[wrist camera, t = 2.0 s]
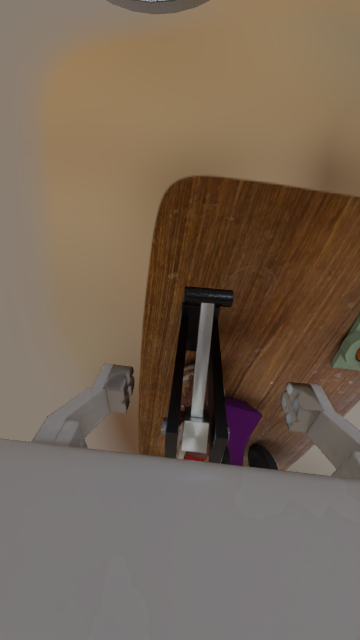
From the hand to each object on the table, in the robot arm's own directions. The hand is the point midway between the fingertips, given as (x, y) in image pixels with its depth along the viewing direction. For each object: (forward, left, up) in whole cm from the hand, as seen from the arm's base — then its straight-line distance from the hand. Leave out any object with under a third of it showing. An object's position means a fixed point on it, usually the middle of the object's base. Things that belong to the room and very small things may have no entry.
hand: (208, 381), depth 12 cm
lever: (+6, 0, -7) cm, 9 cm away
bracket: (+10, 0, -19) cm, 22 cm away
